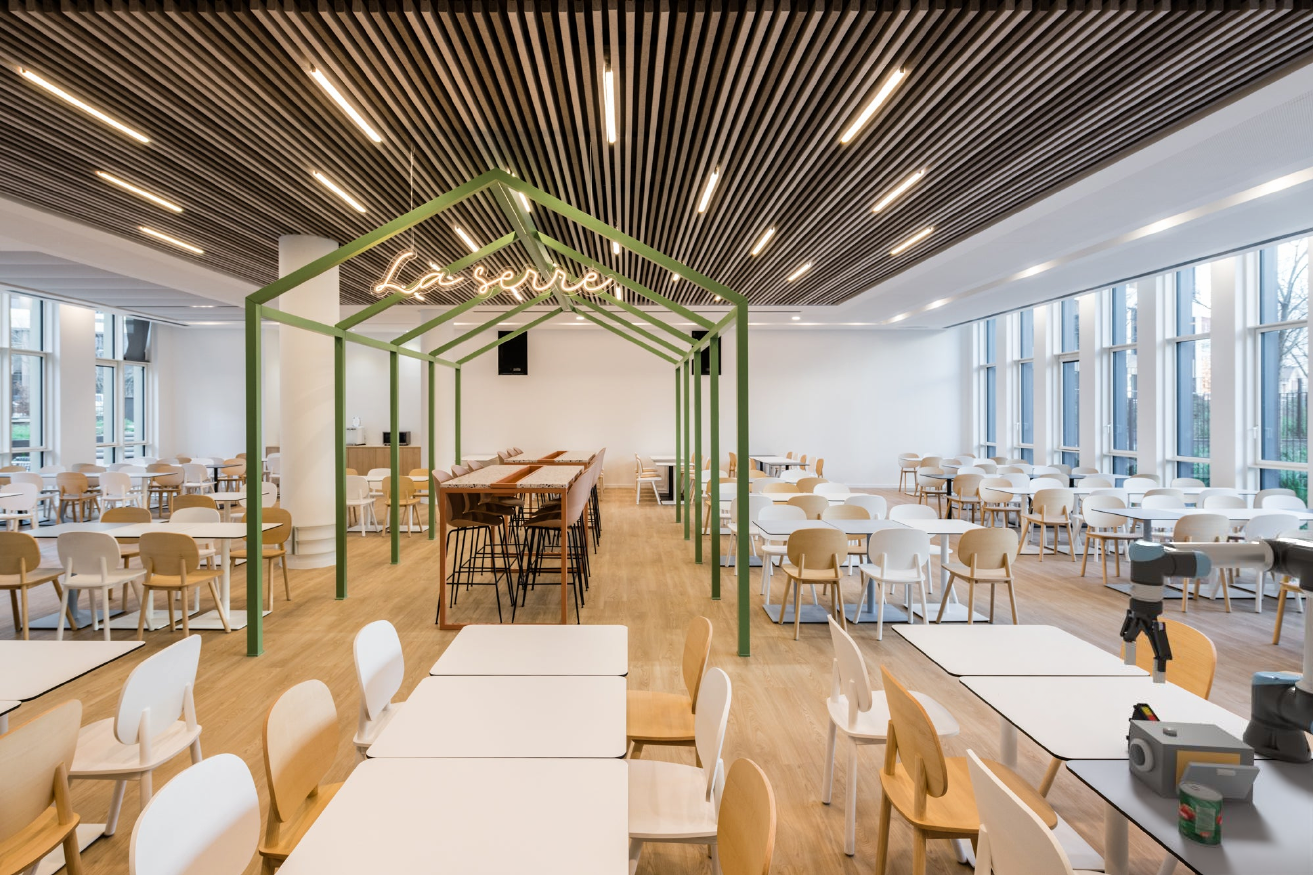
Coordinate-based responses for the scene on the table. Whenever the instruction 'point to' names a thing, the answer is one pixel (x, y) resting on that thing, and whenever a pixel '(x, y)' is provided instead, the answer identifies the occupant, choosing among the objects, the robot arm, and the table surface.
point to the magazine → (1142, 715)
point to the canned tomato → (1200, 814)
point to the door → (1221, 778)
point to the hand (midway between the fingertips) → (1143, 673)
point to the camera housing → (1182, 752)
